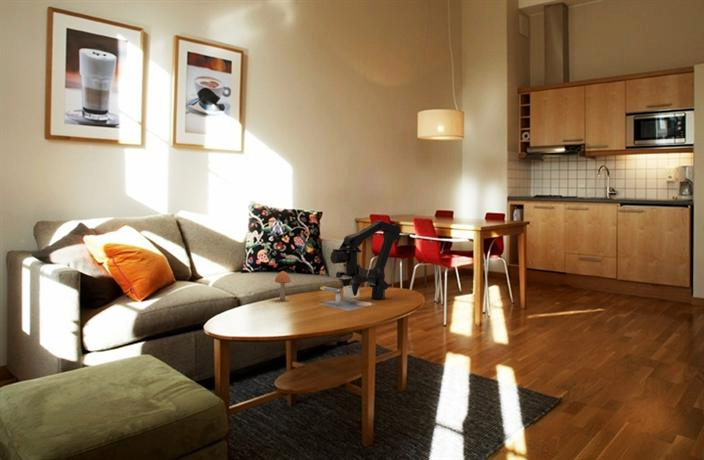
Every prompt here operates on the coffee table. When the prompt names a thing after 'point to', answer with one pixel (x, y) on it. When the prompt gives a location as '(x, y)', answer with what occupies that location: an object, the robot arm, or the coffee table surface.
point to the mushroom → (282, 283)
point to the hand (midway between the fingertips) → (351, 294)
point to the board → (346, 303)
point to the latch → (331, 289)
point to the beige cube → (349, 292)
